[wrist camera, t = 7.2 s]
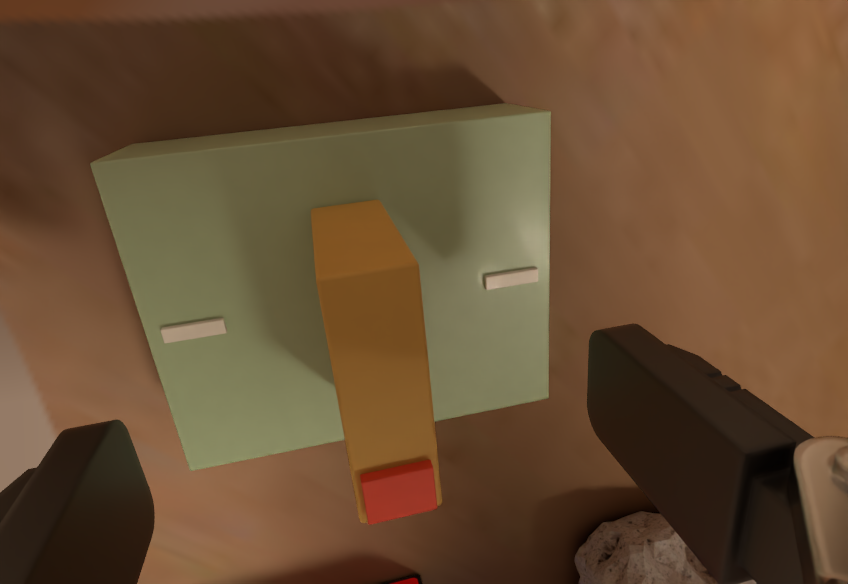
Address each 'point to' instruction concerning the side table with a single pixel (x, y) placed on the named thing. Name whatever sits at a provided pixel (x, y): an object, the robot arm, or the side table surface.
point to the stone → (639, 554)
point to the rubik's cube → (407, 580)
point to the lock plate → (295, 268)
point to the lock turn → (378, 358)
